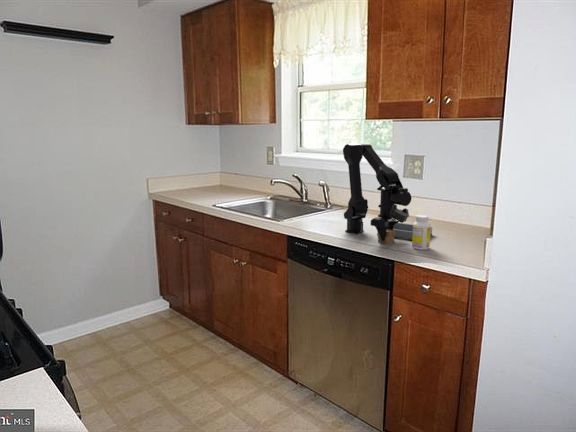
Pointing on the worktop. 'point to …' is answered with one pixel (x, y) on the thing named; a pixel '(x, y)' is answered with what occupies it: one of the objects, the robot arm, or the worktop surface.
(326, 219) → the worktop surface
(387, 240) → the walnut cube
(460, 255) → the worktop surface
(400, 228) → the box
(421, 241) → the supplement bottle
